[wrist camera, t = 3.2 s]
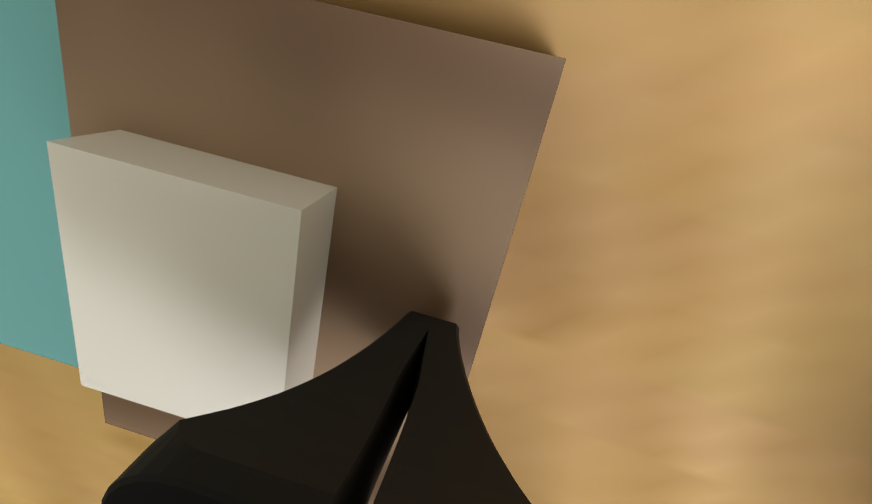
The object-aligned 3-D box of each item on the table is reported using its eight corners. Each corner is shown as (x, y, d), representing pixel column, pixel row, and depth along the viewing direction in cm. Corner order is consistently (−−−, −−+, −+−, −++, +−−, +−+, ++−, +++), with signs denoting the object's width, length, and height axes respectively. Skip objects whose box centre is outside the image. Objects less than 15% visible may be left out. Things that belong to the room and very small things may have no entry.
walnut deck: (435, 466, 18) (422, 525, 15) (156, 379, 19) (105, 422, 16) (557, 60, 12) (566, 59, 9) (133, -39, 13) (47, -62, 10)
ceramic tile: (310, 398, 14) (278, 448, 12) (136, 345, 15) (81, 385, 13) (337, 187, 11) (301, 210, 9) (120, 129, 12) (46, 141, 10)
